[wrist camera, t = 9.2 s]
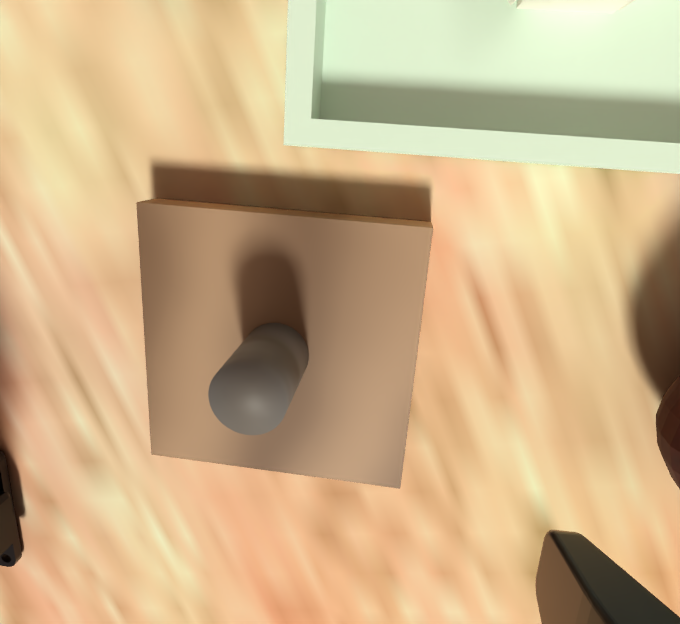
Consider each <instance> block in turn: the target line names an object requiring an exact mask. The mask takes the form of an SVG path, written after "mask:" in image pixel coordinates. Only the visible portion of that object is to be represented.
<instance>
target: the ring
mask: <svg viewBox="0 0 680 624" xmlns="http://www.w3.org/2000/svg"><path fill="white" fill-rule="evenodd" d="M507 1H508V2H509V4H510V5H512V4H513V3H514V2H515V1H516V0H507ZM633 1H635V0H518V1H517V9H537V10H556V11H576V12H596V13H613V12H615V11H616V10H621V9H623V8H624V7H626V6H627V5H629V4H630V3H632V2H633Z"/></svg>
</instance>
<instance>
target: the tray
mask: <svg viewBox="0 0 680 624" xmlns="http://www.w3.org/2000/svg"><path fill="white" fill-rule="evenodd" d="M517 1H518V0H516V1H515V2H514V3H513V4H512V5H510V4H509V2H508V1H507V0H288V23H287V55H286V87H285V120H284V145H290V146H304V147H318V148H331V149H345V150H359V151H373V152H386V153H400V154H414V155H428V156H441V157H455V158H469V159H482V160H496V161H510V162H524V163H537V164H551V165H565V166H579V167H592V168H606V169H620V170H634V171H647V172H661V173H675V174H680V0H635V1H633V2H632V3H630V4H629V5H627V6H626V7H624V8H623V9H621V10H616V11H615V12H613V13H596V12H576V11H556V10H537V9H517Z"/></svg>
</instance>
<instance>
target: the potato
mask: <svg viewBox="0 0 680 624" xmlns="http://www.w3.org/2000/svg"><path fill="white" fill-rule="evenodd" d="M656 430H657V443H658V446H659V449H660V451H661V454H662V456H663V459H664V461H665V463H666V466H667V468H668V470H669V472H670V475H671V477H672V478H673V480H674V481H675V483H676V484H677V486H678V487H679V489H680V376H679V377H677V379H676V380H675V381H674V383H673V384H672V385H671V387H670V388H669V389H668V390H667V392H666V393H665V395H664V396H663V398H662V401H661V404H660V406H659V409H658V411H657V414H656Z"/></svg>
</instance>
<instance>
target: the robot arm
mask: <svg viewBox="0 0 680 624" xmlns="http://www.w3.org/2000/svg"><path fill="white" fill-rule="evenodd" d="M21 557H22V552H21V546H20V540H19V534H18V528H17V522H16V516H15V510H14V504H13V498H12V493H11V487H10V481H9V475H8V469H7V463H6V457H5V455H4V453H3V452H2V451H1V450H0V565H1V566H7V567H11V566H13V565H15V564H16V563H17V561H18V560H19V559H20V558H21ZM536 596H537V602H538V607H539V612H540V617H541V622H542V624H680V617H679V616H677V615H676V614H675V613H674V612H673V611H671V610H670V609H669V608H668V607H667V606H666V605H664V604H663V603H662V602H661V601H660V600H659V599H657V598H656V597H655V596H654V595H653V594H651V593H650V592H649V591H648V590H647V589H646V588H644V587H643V586H642V585H641V584H640V583H638V582H637V581H636V580H635V579H634V578H633V577H631V576H630V575H629V574H628V573H627V572H626V571H624V570H623V569H622V568H621V567H620V566H618V565H617V564H616V563H615V562H614V561H613V560H611V559H610V558H609V557H608V556H607V555H605V554H604V553H603V552H602V551H601V550H600V549H598V548H597V547H596V546H595V545H594V544H592V543H591V542H590V541H589V540H588V539H587V538H585V537H584V536H583V535H581V534H579V533H576V532H569V531H559V530H550V531H549V532H547V534H546V536H545V538H544V542H543V547H542V551H541V556H540V561H539V566H538V571H537V575H536Z"/></svg>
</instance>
